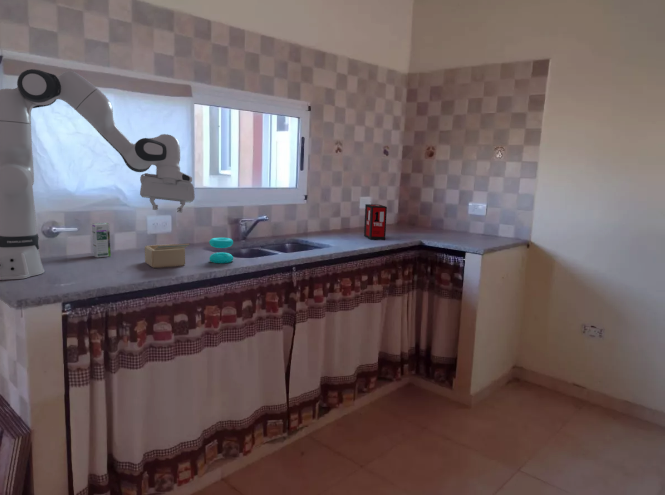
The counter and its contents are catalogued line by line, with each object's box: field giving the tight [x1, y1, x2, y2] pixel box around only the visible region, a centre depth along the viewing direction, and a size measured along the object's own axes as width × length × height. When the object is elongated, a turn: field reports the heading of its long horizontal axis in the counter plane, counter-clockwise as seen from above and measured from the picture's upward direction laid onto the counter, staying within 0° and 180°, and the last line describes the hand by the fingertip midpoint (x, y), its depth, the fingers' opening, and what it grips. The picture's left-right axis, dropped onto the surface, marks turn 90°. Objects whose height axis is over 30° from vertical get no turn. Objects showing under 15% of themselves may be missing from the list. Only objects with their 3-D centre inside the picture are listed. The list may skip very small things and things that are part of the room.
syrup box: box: [91, 222, 112, 259], centre depth 205 cm, size 6×6×14 cm
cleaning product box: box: [363, 203, 388, 241], centre depth 289 cm, size 16×9×20 cm, turn 10°
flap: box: [154, 243, 191, 250], centre depth 185 cm, size 12×1×8 cm
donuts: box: [208, 237, 234, 264], centre depth 203 cm, size 10×10×10 cm
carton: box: [144, 243, 186, 269], centre depth 195 cm, size 13×14×7 cm
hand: (167, 211), depth 183 cm, fingers open, 8 cm apart
